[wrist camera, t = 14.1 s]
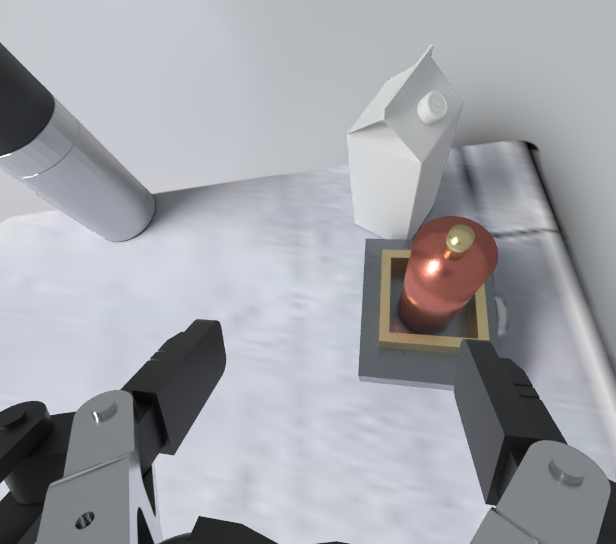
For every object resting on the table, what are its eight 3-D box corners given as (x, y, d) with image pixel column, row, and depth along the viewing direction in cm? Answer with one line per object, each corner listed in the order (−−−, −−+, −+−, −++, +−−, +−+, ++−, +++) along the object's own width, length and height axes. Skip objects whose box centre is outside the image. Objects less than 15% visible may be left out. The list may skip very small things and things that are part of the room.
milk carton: (353, 224, 42) (341, 93, 25) (383, 182, 44) (390, 33, 27) (405, 249, 40) (431, 123, 23) (434, 205, 41) (478, 55, 24)
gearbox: (360, 380, 35) (357, 372, 28) (366, 258, 40) (365, 224, 33) (499, 395, 32) (535, 389, 25) (486, 262, 38) (514, 225, 30)
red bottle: (397, 331, 31) (415, 274, 19) (398, 281, 33) (415, 198, 21) (455, 335, 30) (515, 278, 18) (452, 283, 32) (505, 198, 20)
